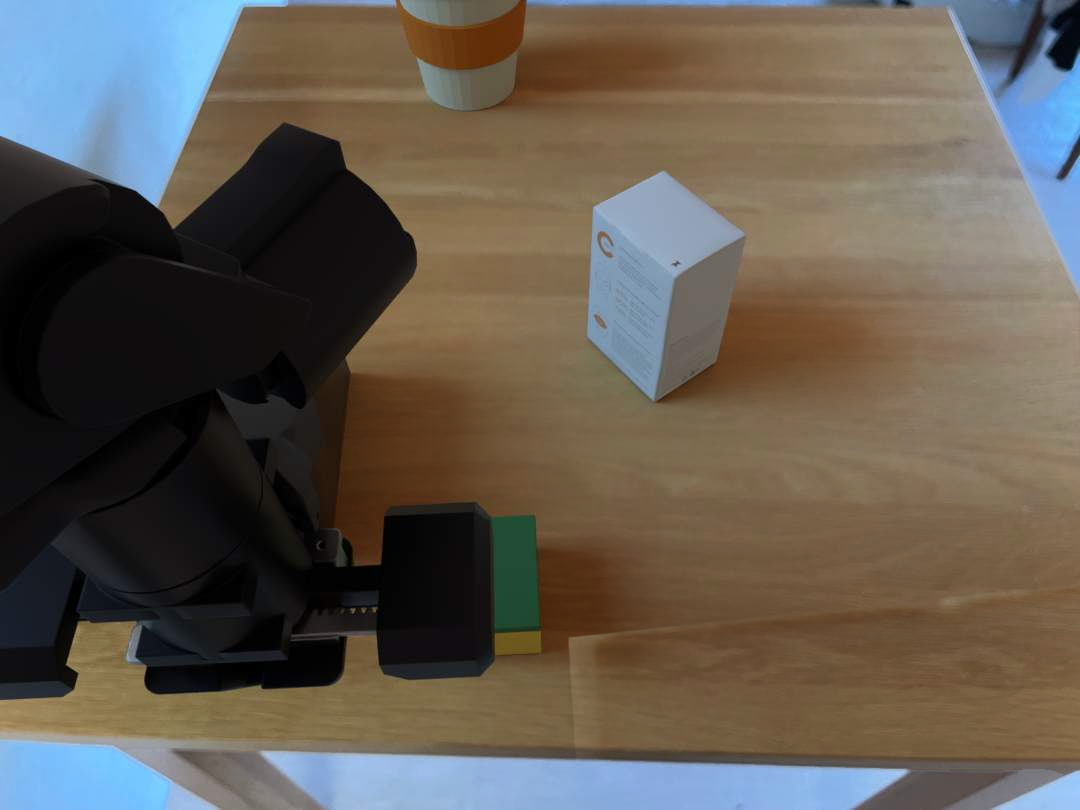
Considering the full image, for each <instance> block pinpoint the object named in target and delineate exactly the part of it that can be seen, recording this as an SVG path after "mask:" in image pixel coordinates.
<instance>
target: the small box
mask: <svg viewBox="0 0 1080 810" xmlns="http://www.w3.org/2000/svg"><path fill="white" fill-rule="evenodd" d="M591 224H592V226H591V228H592V229H591V247H590V248H591V249H590V264H589V265H590V269H589V288H588V311H587V328H586V329H587V331H586V338H587V339H588V340H589V341H590V342H592V343H593V344H594V346H596V348H598V350H600V351H601V352H602V354H604V355H605V356H606V357H607V358H608V359H609V360H610V361H611V362H612V363H613V364H614V365H615V366H616V367H617V368H618V369H619V370H620V371H621V372H622V373H623V374H624V375H625V376H626V377H628V379H630V381H631V382H632V383H634V385H636V386H637V387H638V389H640V390H641V391H642V392H643V394H645V395H646V396H647V397H648V398H649V399H650V400H651V401H652V402H654V403H655V402H658V401H659V400H661V399H662V398H663V397H665V396H666V395H668V394H670V393H671V392H673V391H674V390H676V389H677V388H679V387H681V386H682V385H683V384H685V383H687V382H688V381H690V380H691V379H692V378H694V377H696V376H697V375H699V374H700V373H702V372H703V371H704V370H706V369H707V368H709V367H711V366H712V365H714V364H715V363H717V360H718V356H719V352H720V348H721V344H722V340H723V335H724V332H725V327H726V324H727V319H728V316H729V311H730V306H731V302H732V298H733V295H734V290H735V286H736V281H737V277H738V273H739V269H740V264H741V260H742V256H743V252H744V249H745V248H744V247H745V243H746V239H747V235H748V234H747V233H746V232H745V231H744V230H742V229H741V228H739V227H738V226H736V224H735V223H733V222H732V221H731V220H729V219H728V218H727V217H725V216H724V215H723V214H721V213H720V212H719V211H717V210H716V209H715V208H714V207H712V206H711V205H709V204H708V203H707V202H706V201H704V200H703V199H701V197H699V196H698V195H696V194H695V193H694V192H693V191H692V190H690V189H689V188H687V187H686V186H685V185H684V184H682V183H681V182H679V181H678V180H677V179H676V178H675V177H673V176H672V175H671V174H670V173H668V172H667V171H666V170H662V171H660V172H657V173H656V174H654V175H652V176H651V177H648V178H647V179H645V180H643V181H641V182H639V183H637V184H635V185H633V186H631V187H629V188H628V189H626V190H624V191H622V192H619V193H618V194H616V195H614V196H612V197H610V198H608V199H606V200H604V201H602V202H601V203H598V204H596V205H594V206H592V223H591Z"/></svg>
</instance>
